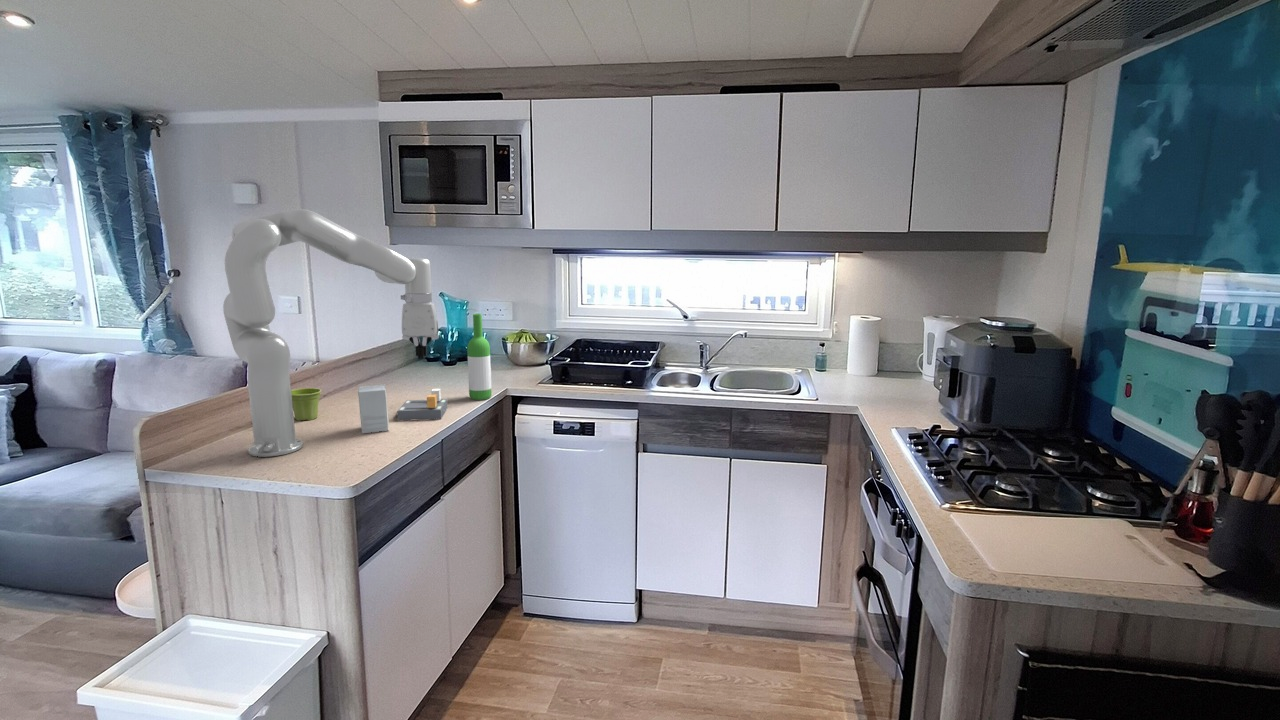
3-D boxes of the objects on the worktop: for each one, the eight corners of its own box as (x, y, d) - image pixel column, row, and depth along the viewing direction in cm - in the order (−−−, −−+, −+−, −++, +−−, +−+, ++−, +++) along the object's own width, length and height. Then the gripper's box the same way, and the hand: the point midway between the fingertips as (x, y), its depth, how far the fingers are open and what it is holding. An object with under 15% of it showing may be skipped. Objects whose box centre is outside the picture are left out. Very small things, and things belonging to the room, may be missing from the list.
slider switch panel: (441, 419, 195) (440, 409, 194) (397, 420, 193) (397, 410, 192) (447, 408, 207) (447, 399, 207) (407, 409, 206) (406, 400, 205)
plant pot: (307, 412, 200) (304, 386, 198) (330, 415, 197) (328, 389, 195) (282, 420, 191) (279, 393, 190) (306, 423, 188) (303, 396, 187)
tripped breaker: (435, 407, 195) (434, 396, 194) (427, 407, 194) (426, 397, 194) (436, 405, 198) (436, 394, 197) (429, 405, 197) (428, 394, 197)
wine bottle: (469, 401, 216) (466, 315, 210) (468, 396, 223) (465, 313, 218) (492, 399, 219) (489, 315, 213) (490, 394, 226) (487, 312, 220)
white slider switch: (439, 401, 203) (438, 390, 202) (431, 401, 202) (431, 390, 202) (441, 398, 205) (440, 388, 205) (433, 399, 205) (432, 388, 204)
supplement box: (388, 424, 189) (386, 384, 186) (388, 431, 182) (385, 389, 180) (362, 426, 186) (359, 385, 184) (361, 434, 179) (357, 391, 177)
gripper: (390, 300, 184) (393, 360, 188) (442, 300, 187) (444, 360, 190) (396, 297, 192) (399, 356, 195) (446, 298, 194) (448, 355, 197)
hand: (421, 358), depth 193 cm, fingers closed
